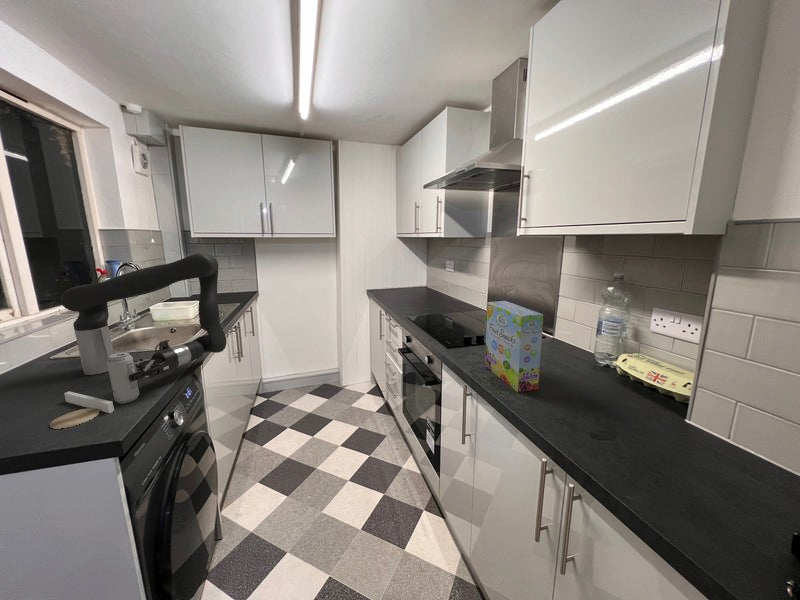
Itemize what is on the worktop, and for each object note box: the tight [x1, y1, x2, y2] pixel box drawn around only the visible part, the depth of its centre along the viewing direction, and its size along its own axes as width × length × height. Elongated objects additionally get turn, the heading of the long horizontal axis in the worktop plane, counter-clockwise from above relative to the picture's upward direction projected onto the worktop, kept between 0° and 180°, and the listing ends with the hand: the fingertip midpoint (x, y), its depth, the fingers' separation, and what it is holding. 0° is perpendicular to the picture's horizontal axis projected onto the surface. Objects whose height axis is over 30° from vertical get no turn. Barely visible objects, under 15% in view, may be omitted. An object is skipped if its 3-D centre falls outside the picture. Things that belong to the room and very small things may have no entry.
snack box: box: [484, 300, 544, 393], centre depth 110 cm, size 22×9×26 cm, turn 14°
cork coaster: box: [49, 407, 101, 430], centre depth 91 cm, size 10×10×1 cm
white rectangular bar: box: [64, 390, 115, 414], centre depth 97 cm, size 21×1×3 cm, turn 71°
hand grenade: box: [154, 339, 171, 353], centre depth 127 cm, size 6×5×10 cm
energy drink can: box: [107, 351, 140, 405], centre depth 100 cm, size 6×6×15 cm
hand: (120, 376), depth 99 cm, fingers open, 8 cm apart
